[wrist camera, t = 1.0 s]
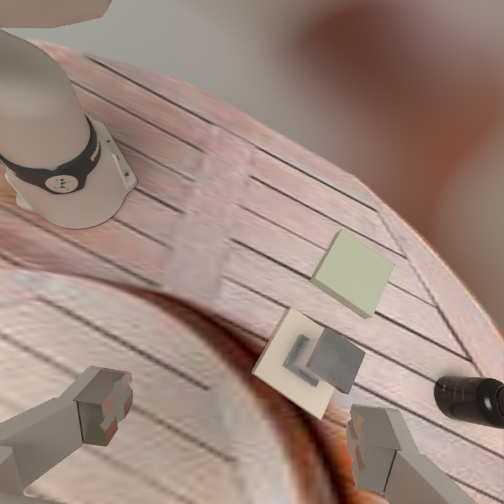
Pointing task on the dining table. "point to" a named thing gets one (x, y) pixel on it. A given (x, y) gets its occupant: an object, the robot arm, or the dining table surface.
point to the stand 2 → (353, 274)
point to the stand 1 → (282, 378)
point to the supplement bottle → (472, 400)
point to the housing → (325, 360)
